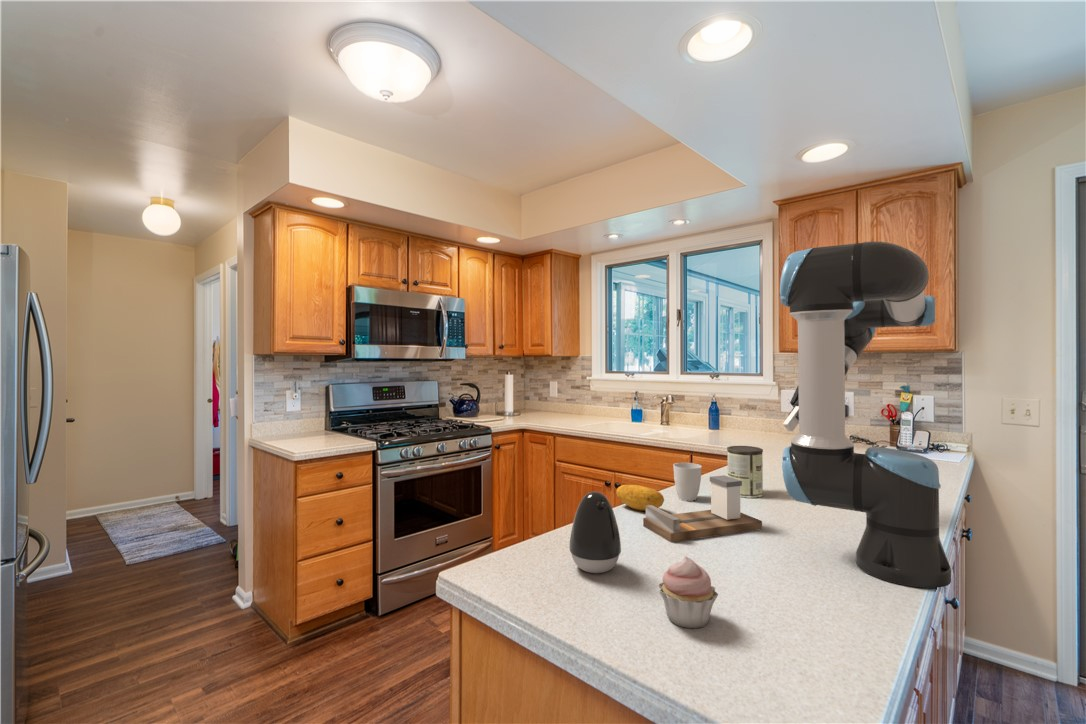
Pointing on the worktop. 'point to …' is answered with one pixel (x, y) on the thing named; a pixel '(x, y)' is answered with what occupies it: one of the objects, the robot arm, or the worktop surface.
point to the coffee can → (746, 469)
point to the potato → (639, 496)
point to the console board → (695, 524)
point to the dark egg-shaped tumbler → (595, 535)
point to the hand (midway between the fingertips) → (787, 427)
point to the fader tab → (725, 496)
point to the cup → (687, 480)
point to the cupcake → (687, 594)
